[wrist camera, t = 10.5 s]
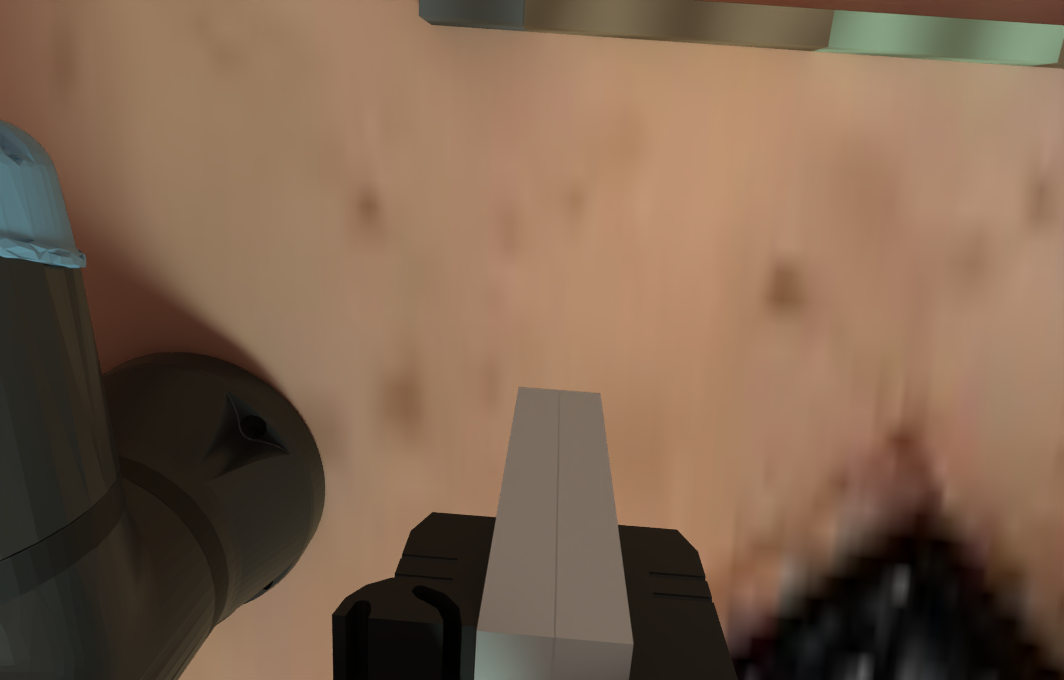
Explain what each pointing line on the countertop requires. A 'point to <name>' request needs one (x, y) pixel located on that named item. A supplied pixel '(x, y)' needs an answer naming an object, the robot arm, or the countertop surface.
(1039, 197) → the countertop surface
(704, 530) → the countertop surface
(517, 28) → the trap channel
